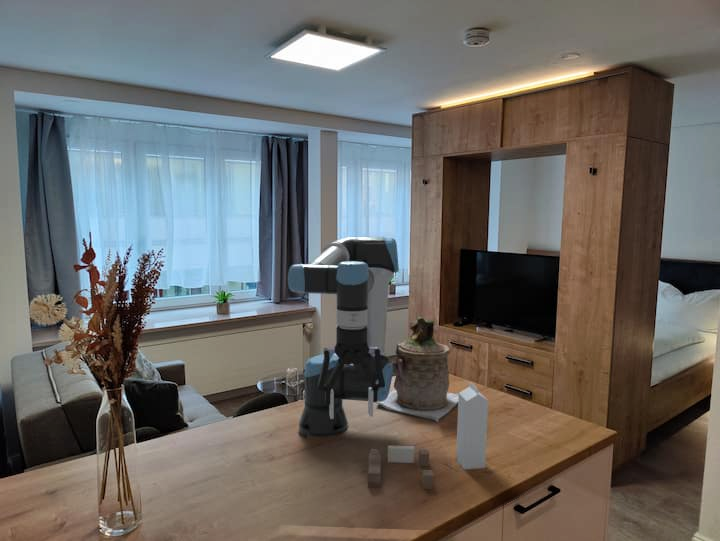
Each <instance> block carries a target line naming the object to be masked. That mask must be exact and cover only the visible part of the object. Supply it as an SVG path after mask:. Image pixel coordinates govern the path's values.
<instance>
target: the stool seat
mask: <svg viewBox="0 0 720 541" xmlns="http://www.w3.org/2000/svg"><path fill="white" fill-rule="evenodd" d="M387 463H407V464H408V463H409V464H410V463H411V464H414V463H415V446H414V445H413V446H412V445H387ZM418 465H419V467H429V466H430V451H429V449H426V448H425V449H424V448H419V449H418ZM421 472H422V473H421V474H422V475H421V484H422V489H423V490H424V489H425V490H426V489H427V490H429V489H430V490H434V486H435V485H434V484H435V483H434V482H435V475H434V470H433V469H429V470H427V469H422V471H421Z"/></svg>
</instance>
